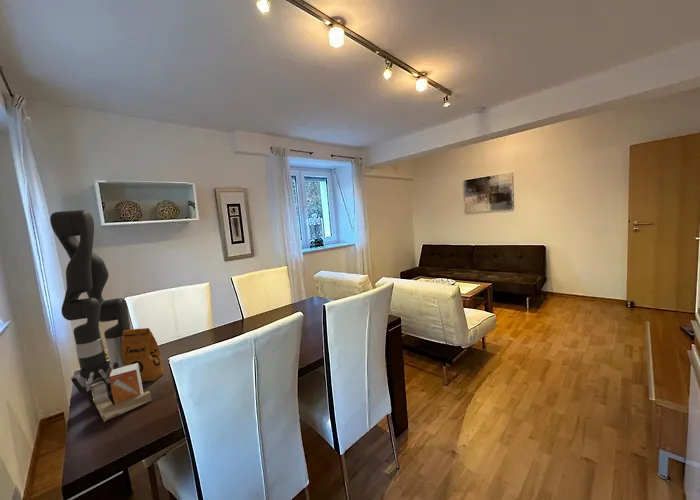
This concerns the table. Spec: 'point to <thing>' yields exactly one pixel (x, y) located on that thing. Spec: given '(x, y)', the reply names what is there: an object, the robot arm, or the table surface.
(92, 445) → the table surface
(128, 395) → the small box
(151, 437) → the table surface
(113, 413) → the hooked slat
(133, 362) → the coffee package
